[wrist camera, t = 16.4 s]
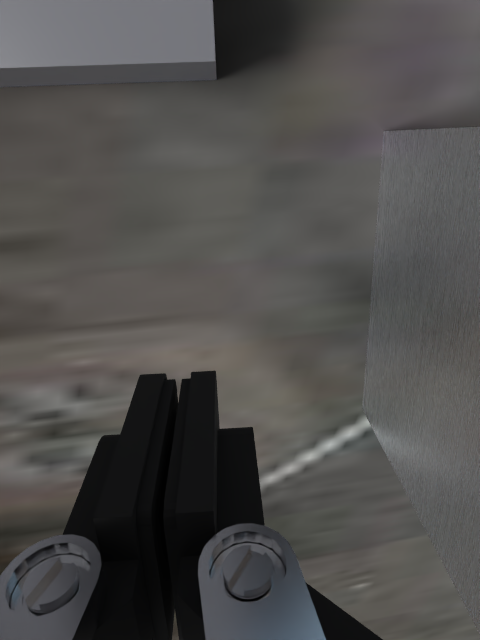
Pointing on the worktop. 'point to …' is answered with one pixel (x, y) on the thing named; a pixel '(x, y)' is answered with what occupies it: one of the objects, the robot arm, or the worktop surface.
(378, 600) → the worktop surface
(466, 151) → the cover plate
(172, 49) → the slot holder
